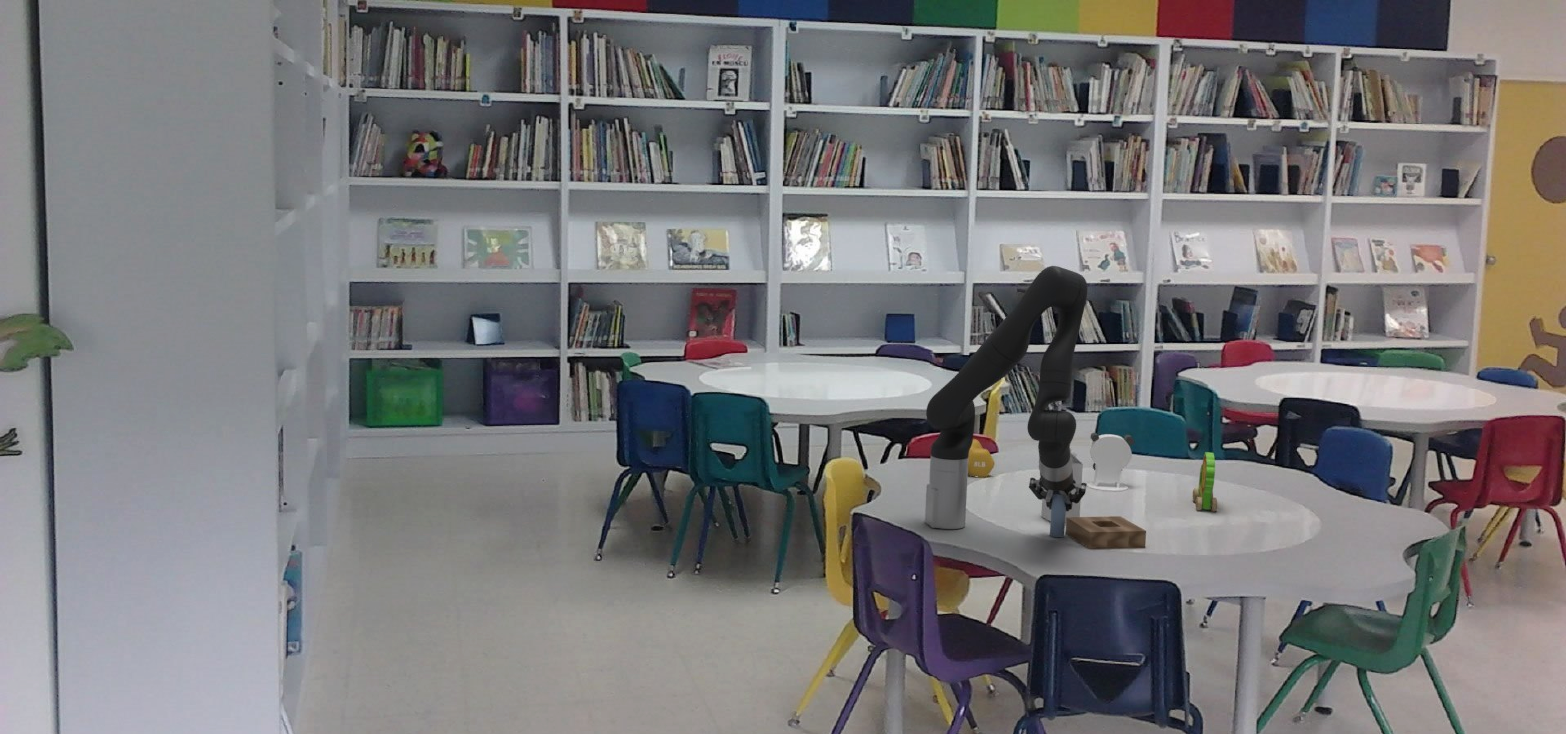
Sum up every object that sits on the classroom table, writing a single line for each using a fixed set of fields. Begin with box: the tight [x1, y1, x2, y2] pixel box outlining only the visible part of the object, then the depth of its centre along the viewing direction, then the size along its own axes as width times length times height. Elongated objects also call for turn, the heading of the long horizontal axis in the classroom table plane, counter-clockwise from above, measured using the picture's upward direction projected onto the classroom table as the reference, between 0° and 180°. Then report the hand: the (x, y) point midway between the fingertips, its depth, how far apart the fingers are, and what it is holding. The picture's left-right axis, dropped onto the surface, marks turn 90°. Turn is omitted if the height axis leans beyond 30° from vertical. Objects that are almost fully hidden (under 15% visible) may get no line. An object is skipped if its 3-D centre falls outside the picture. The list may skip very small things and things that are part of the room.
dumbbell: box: [968, 438, 995, 478], centre depth 402 cm, size 19×9×8 cm, turn 2°
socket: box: [1065, 515, 1147, 550], centre depth 328 cm, size 14×14×4 cm
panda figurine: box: [1086, 432, 1135, 493], centre depth 385 cm, size 12×11×15 cm
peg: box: [1049, 494, 1066, 538], centre depth 330 cm, size 3×3×14 cm
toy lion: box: [1192, 451, 1218, 512], centre depth 364 cm, size 16×5×15 cm, turn 168°
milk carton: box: [1040, 447, 1084, 524], centre depth 345 cm, size 7×7×19 cm
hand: (1059, 507), depth 332 cm, fingers closed on peg, 3 cm apart
